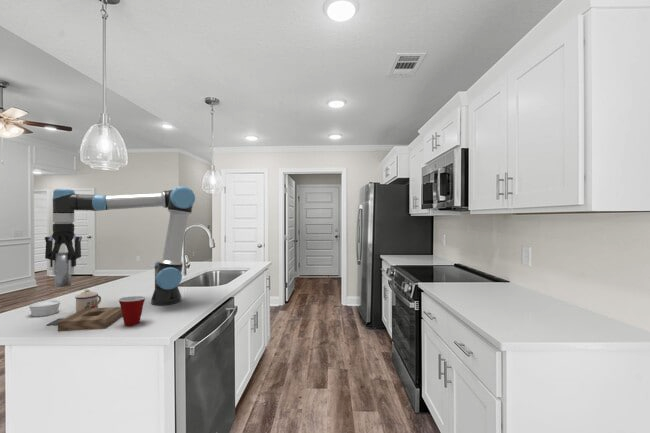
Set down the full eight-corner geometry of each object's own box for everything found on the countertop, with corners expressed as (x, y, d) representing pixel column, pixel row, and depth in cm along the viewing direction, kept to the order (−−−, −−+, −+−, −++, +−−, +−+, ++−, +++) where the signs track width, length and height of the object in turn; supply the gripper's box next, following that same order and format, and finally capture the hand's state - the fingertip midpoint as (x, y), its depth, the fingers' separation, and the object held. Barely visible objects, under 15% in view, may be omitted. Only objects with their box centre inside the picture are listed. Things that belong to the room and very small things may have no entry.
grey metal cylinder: (73, 284, 143) (74, 252, 143) (66, 286, 137) (66, 253, 137) (60, 284, 142) (60, 252, 142) (52, 287, 136) (52, 253, 136)
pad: (77, 318, 145) (77, 317, 145) (67, 324, 137) (67, 323, 137) (58, 319, 143) (58, 318, 143) (46, 325, 135) (46, 324, 135)
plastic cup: (151, 320, 143) (151, 294, 143) (135, 328, 132) (135, 300, 132) (129, 319, 144) (129, 293, 144) (112, 327, 133) (111, 300, 133)
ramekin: (65, 311, 155) (65, 301, 155) (40, 318, 145) (40, 307, 145) (49, 309, 158) (49, 299, 158) (23, 316, 148) (23, 305, 148)
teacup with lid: (85, 316, 148) (85, 292, 148) (70, 315, 149) (70, 291, 149) (107, 309, 159) (107, 286, 159) (93, 307, 161) (93, 285, 161)
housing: (124, 314, 150) (124, 306, 150) (105, 328, 133) (105, 319, 133) (82, 317, 147) (82, 308, 147) (57, 331, 129) (57, 321, 129)
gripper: (91, 223, 145) (90, 272, 145) (45, 222, 141) (45, 273, 141) (82, 223, 138) (81, 275, 138) (33, 223, 134) (33, 276, 134)
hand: (63, 273), depth 140 cm, fingers closed on grey metal cylinder, 6 cm apart
